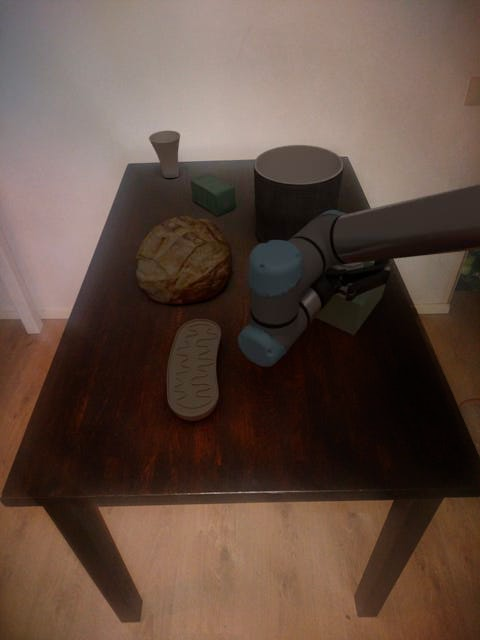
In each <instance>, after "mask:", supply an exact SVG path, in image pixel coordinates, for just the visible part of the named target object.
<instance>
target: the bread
mask: <svg viewBox="0 0 480 640" xmlns="http://www.w3.org/2000/svg"><path fill="white" fill-rule="evenodd" d="M134 259H135V264H136V266H137V269H136V270H135V271H136V272H135V275H136V279H137V282H138V285H139V287H140V288H141V289H143V291H144V292H145V293H146V294H147V297H148V298H149V299H151V300H153V301H155V302H157V303H159V304H167V305H187V304H192V303H199V302H203V301H206V300H209V299H212V298H214V297H215V296H218V295H219V294H220V293H222V292H223V291H224V290H226V288H228V284H229V283H230V282H229V281H230V280H231V277H232V274H235V272H234V271H233V268H232V265H233V252H232V247H231V245H230V243H229V240H228V238H227V237H226V236H225V234H224V233H223V231H220V229H219V227H218V226H217V225H216V224H215V223H214V222H213V221H212V220H210V219H206V218H193V217H192V216H189V215H188V214H184V215H180V216H175V217H172V218H169V219H167V220H164V221H162V222H161V223H157V225H155V226H154V227H153V228H152V229H151V231H150V232H149V233H148V234H147V235H146V236H145V238H144V239H143V240H142V242H141V244H140V246H139V248H138V250H137V251H136V253H135V257H134Z"/></svg>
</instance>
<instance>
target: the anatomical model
mask: <svg viewBox="0 0 480 640" xmlns="http://www.w3.org/2000/svg"><path fill="white" fill-rule="evenodd" d="M221 339H222V330H221V328H220V326H219V324H217V323H216V322H215V321H213V320H210V319H208V318H195V319H191V320H189V321H187V322H185V323H183V324H182V325H181V326H180V327H179V329H178V330H177V332H176V334H175V337H174V340H173V343H172V346H171V349H170V353H169V356H168V361H167V369H166V397H167V398H166V399H167V403H168V406H169V407H170V409H171V411H172V412H173V413H174V415H176V416H177V417H178V418H180V419H182V420H184V421H188V422H197V421H201V420H203V419H205V418H207V417H208V416H210V415H211V414H212V413H213V412H214V410H215V409H216V408H217V404H218V402H219V397H220V392H219V383H218V378H217V377H218V376H217V359H218V353H219V349H220V344H221V341H222V340H221Z"/></svg>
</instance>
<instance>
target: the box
mask: <svg viewBox="0 0 480 640" xmlns="http://www.w3.org/2000/svg"><path fill="white" fill-rule="evenodd" d="M190 188H191V194H192V195H191V197H192V201H193V202H195V204H197V205H199V206H201V207H202V208H204V209H205V210H207V211H208V212H210V213H212V214H213V215H214V216H216V217H220V216H222V215H224V214H226V213H229V212H230V211H232V210H234V209H235V208H236V189H235V187H234V186H233V185H231V184H229V183H227V182H225V181H223V180H222V179H220V178H219V177H216V176H215V175H213V174H211V173H209V172H208V173H205V174H203V175H199V176H197V177H193V178H192V179H190ZM195 200H196V201H195ZM198 202H199V203H198ZM201 204H202V205H201Z"/></svg>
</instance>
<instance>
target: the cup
mask: <svg viewBox="0 0 480 640" xmlns="http://www.w3.org/2000/svg"><path fill="white" fill-rule="evenodd" d="M180 139H181V134H180V132H178V131H175V130H161V131H160V130H159V131H157V132H154V133H152V134H151V135H150V136H149V137H148V140H149V142H150V144H151V146H152V148H153V150H154V151H155V154H156V155H157V158H158V161H159V163H160V168H161V173H162V172H163V173H165V174H173V173H176V172H178V171H179V170H180V167H179V147H180Z"/></svg>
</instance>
